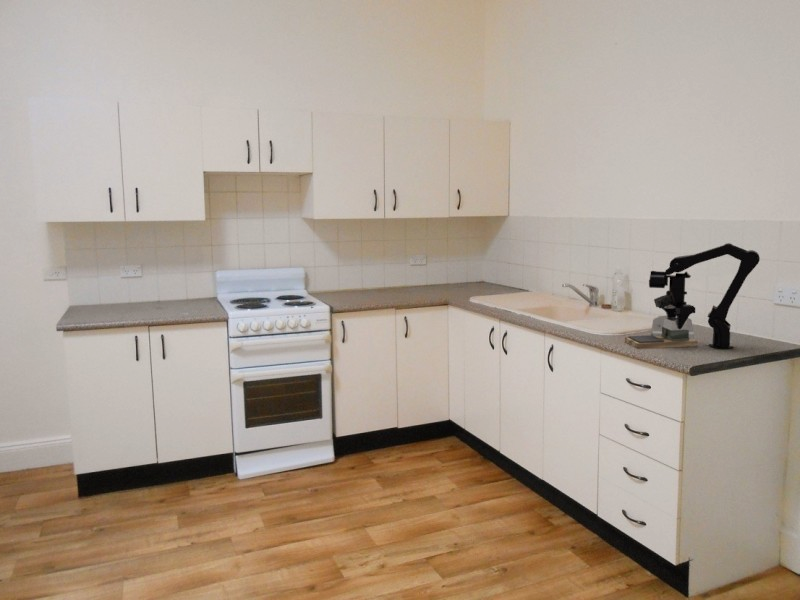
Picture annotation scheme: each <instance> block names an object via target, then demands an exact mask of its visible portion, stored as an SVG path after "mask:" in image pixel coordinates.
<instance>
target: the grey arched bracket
mask: <svg viewBox="0 0 800 600" xmlns="http://www.w3.org/2000/svg"><path fill="white" fill-rule="evenodd" d="M676 317H677V316H676ZM664 318H668V317H667V314H666V315H662V316H658V317H654V318H653V319H652V324H651V333H650V335H653V336H661V334H662V327H664ZM687 320H688V322H687V330H689V338H691V339H695V332H694V327H693V322H692V319H691V318H689V317H688V318H687Z"/></svg>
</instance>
